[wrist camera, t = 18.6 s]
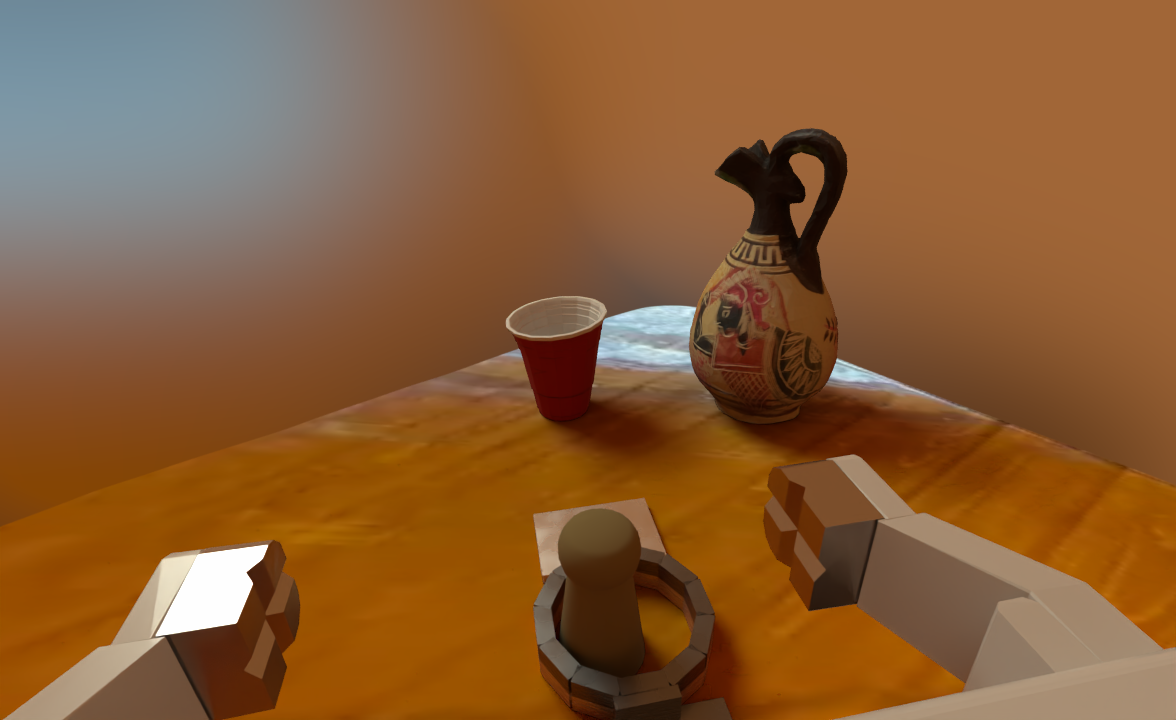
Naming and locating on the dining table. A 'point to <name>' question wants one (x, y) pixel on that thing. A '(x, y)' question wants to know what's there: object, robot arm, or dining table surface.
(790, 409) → the ceramic jug
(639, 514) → the ring
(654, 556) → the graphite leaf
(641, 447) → the dining table surface
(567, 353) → the plastic cup
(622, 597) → the cork
